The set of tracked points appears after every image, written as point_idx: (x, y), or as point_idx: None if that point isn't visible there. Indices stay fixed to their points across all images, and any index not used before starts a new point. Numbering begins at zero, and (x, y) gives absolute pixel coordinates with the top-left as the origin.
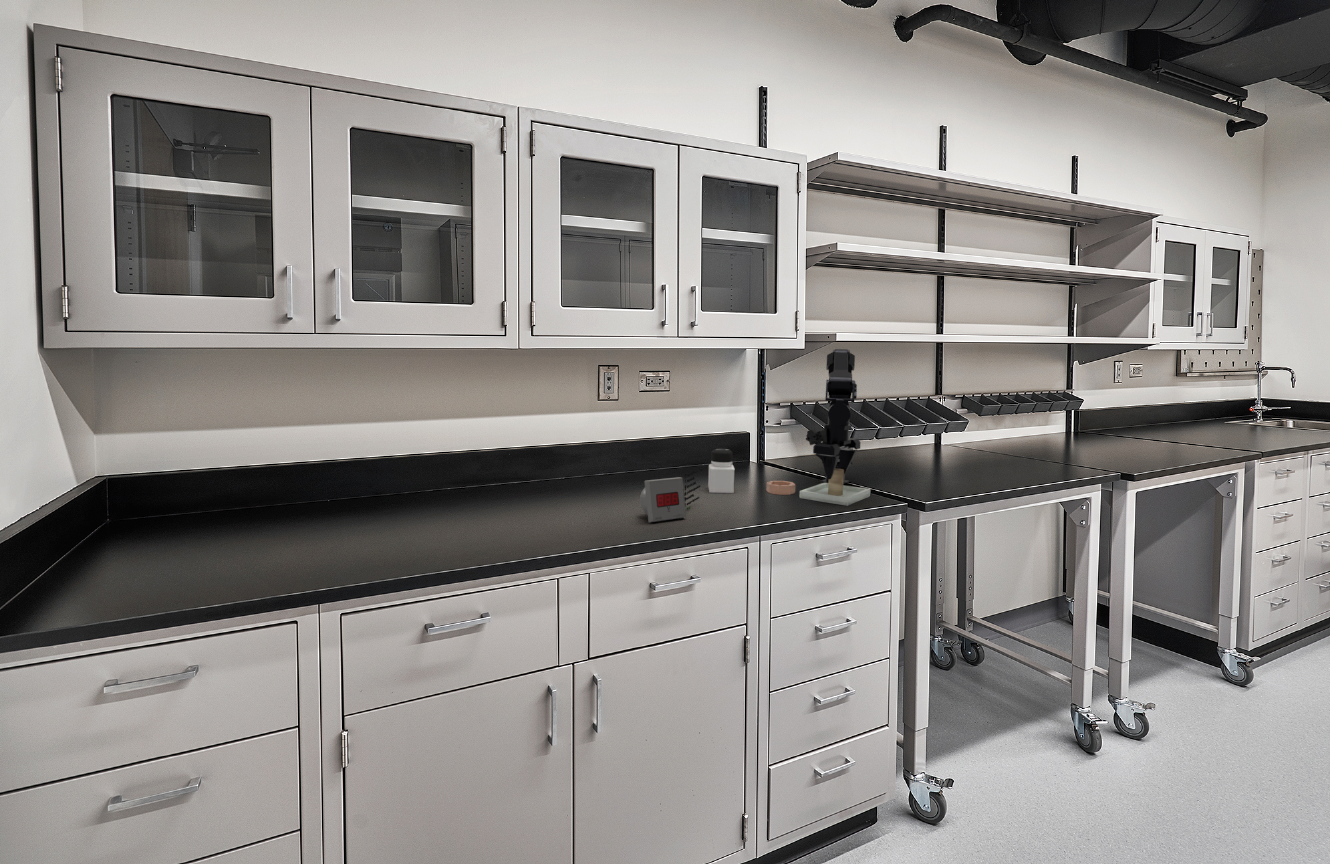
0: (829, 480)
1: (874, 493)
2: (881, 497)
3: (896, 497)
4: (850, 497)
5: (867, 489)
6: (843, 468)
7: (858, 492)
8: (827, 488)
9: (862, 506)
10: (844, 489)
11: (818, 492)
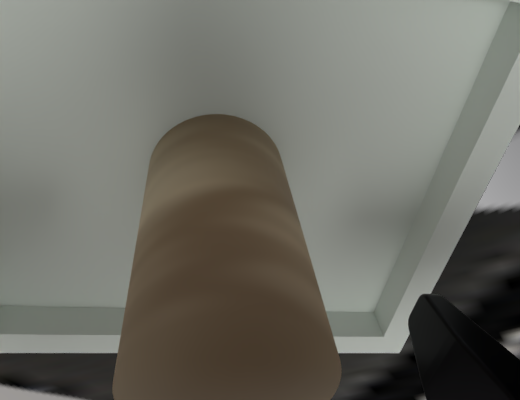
0: (151, 223)
1: (481, 306)
2: (373, 356)
3: (407, 393)
4: (21, 350)
5: (378, 345)
6: (444, 381)
7: None
8: (468, 24)
9: (48, 361)
10: (434, 186)
11: (191, 9)
